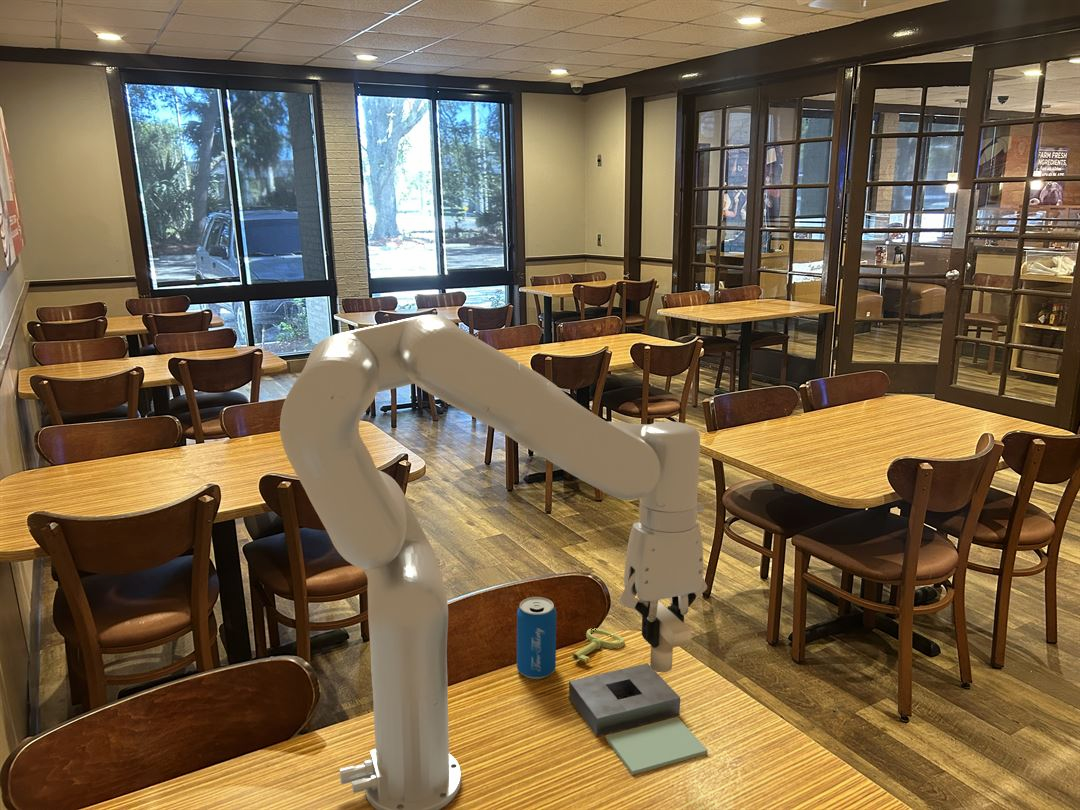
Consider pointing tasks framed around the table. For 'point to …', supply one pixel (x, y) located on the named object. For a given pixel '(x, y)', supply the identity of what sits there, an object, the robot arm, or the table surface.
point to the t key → (668, 639)
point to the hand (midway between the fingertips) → (662, 638)
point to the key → (597, 643)
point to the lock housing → (641, 707)
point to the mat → (655, 745)
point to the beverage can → (536, 637)
